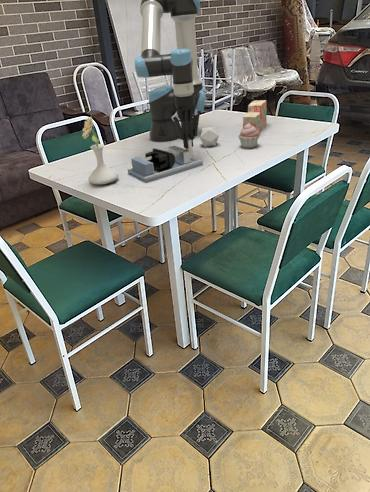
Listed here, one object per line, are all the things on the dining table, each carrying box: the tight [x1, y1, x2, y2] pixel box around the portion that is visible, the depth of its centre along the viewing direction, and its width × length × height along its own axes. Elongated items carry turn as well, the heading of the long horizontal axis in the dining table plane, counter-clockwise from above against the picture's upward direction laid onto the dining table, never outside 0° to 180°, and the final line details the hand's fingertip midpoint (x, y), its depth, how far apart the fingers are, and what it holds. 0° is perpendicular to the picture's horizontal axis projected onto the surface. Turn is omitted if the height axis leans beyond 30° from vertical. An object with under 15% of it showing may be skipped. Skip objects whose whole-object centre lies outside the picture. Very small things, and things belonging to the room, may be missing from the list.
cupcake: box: [238, 123, 261, 149], centre depth 182 cm, size 9×9×10 cm
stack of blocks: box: [242, 99, 268, 134], centre depth 202 cm, size 21×6×12 cm, turn 158°
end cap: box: [144, 148, 175, 172], centre depth 164 cm, size 10×7×7 cm
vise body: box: [127, 156, 204, 184], centre depth 166 cm, size 14×26×6 cm, turn 124°
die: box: [199, 126, 220, 148], centre depth 189 cm, size 8×9×10 cm
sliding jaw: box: [167, 145, 191, 165], centre depth 169 cm, size 11×6×5 cm, turn 34°
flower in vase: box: [82, 116, 119, 186], centre depth 155 cm, size 13×11×25 cm
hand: (189, 155), depth 172 cm, fingers closed
